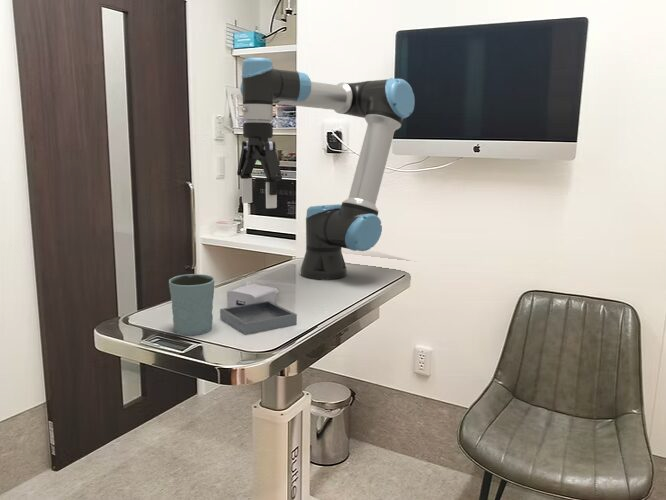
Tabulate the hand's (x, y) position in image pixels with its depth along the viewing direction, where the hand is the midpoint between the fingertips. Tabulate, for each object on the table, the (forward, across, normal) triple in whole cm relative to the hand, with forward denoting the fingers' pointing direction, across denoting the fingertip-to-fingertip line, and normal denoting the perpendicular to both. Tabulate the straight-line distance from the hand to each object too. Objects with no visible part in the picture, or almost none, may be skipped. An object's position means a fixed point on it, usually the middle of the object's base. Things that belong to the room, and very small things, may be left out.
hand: (258, 205), depth 145 cm
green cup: (+27, +11, -23) cm, 37 cm away
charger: (+27, 0, 0) cm, 27 cm away
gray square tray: (+26, +14, -8) cm, 31 cm away
